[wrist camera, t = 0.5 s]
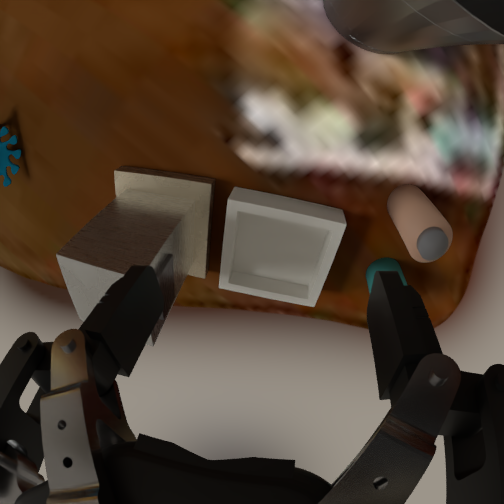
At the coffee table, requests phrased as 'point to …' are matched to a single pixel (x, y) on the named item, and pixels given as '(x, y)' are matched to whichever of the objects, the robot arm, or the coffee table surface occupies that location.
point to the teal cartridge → (383, 269)
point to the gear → (2, 156)
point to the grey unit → (142, 237)
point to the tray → (278, 246)
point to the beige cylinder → (419, 223)
